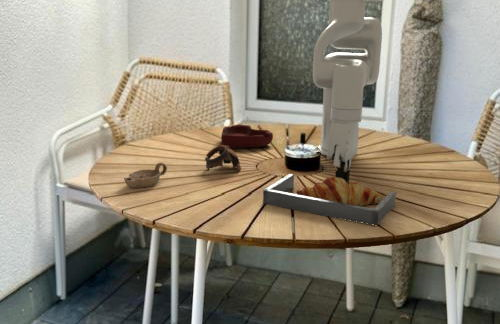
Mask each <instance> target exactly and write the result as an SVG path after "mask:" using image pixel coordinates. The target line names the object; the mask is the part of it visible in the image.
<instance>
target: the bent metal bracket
mask: <svg viewBox="0 0 500 324" xmlns="http://www.w3.org/2000/svg"><path fill="white" fill-rule="evenodd" d="M294 179H295V174H293V173H289V174H287V175H285V176H284V177H282V178H281V179H279V180H277V181H276V182H273V183H272V184H271V185H269V186H267V187H266V188H264V189H263V190H262V191H263V192H262V193H263V194H262V195H263V197H262V204H263V205H268V206H274V207H279V208H283V209H289V210H293V211H297V212H298V211H299V212H303V213H308V212H309V214H312V213H314V214H313V215H317V214H319V215H318V216H322V215H325V216H324V217H327V216H330V217H329V218H332V217H336V218H335V219H337V218H342V219H346V220H345V221H347V220H351V221H350V222H352V221H355V222H354V223H357V222H363V223H368V224H374V225H377V224H378V223H379V222H380V221H381V219H382V218H383V217H384V216H385V215H386V214H387V213H388V212H389V211H390V210H391V211H392V209H393V208H394V207H396V200H397V199H396V198H397V192H396V191H390V192H389V193H388V194H387V195H386V196H385V197H383V198H382V200H381V201H380V202H378V203H377V205H376V206H375V208H370V207H366V206H365V207H364V206H355V205H350V204H345V203H339V202H334V201H329V200H323V199H318V198H313V197H308V196H302V195H297V193H291V192H289V191H290V190H291V189H293V188H294V183H295V182H294V181H295V180H294ZM391 211H390V212H391ZM390 212H389V213H390ZM389 213H388V214H389ZM388 214H387V215H388ZM387 215H386V216H387ZM386 216H385V217H386ZM385 217H384V218H385ZM384 218H383V219H384ZM342 219H341V220H342ZM356 221H357V222H356ZM381 222H382V221H381ZM381 222H380V223H381ZM380 223H379V224H380ZM379 224H378V225H379ZM378 225H377V226H378Z"/></svg>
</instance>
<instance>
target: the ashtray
mask: <svg viewBox="0 0 500 324" xmlns="http://www.w3.org/2000/svg"><path fill="white" fill-rule="evenodd" d="M220 136H221V139H220V141H221V145H227V146H229V147H230V149H231V150H234V149H246V148H248V149H249V148H268V146H269V144H271V143H272V142H273V139H274V133H273V132H271V131H270V130H268V129H254V128H252V127H251V125H248V124H241V123H239V124H234V125H231V126H230V125H229V126H224V127H223V129H222V132H221V135H220Z"/></svg>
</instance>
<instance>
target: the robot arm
mask: <svg viewBox="0 0 500 324" xmlns="http://www.w3.org/2000/svg"><path fill="white" fill-rule="evenodd" d="M382 1H384V0H329V16H328V17H329V18H328V25H327V27H326V28H325V29H324V30H323V31H322V33H321V34H320V35H319V36H318V38H317V40H316V42H315V44H314V49H313V60H312V61H313V62H312V81H313V84H315V86H316V87H317V88H320V89H323V97H322V120H321V122H322V123H321V137H320V139H321V141H320V142H321V143H320V144H318V145H317V146H316V147H318V148H319V149H320V151H321V154H320V155H324V156H326V158H327V160H328V161H332V160H333V167H334V168H335V175H334V177H338V178H343V179H344V180H345V182H347V183H348V184H350V183H349V182H350V173H351V172H350V171H351V170H350V169H351V164H352V159H353V157H355V156H356V155H357V152H358V148H359V126H360V125H359V124H360V123H361V122H362V115H363V112H362V111H363V101H364V100H363V99H364V87H366V85H367V86H368V85H373V84H375V83H376V82H377V81H378V79H379V75H380V65H381V64H380V63H381V53H382V43H383V42H382V40H383V27H382V24H381V22H380V20H379V19H377V17H376V18H375V17H365V14H366V13H365V10H366V5H365V4H366V2H382ZM329 46H330V47H332V48H335V49H340V50H363V51H365V52H363V53H362V52H361V53H359V52H353V53H352V52H332V53H329V54H327V55H325V51H326V50H327V48H328V47H329Z"/></svg>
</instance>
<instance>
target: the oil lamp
mask: <svg viewBox="0 0 500 324" xmlns="http://www.w3.org/2000/svg"><path fill="white" fill-rule="evenodd" d="M161 166H162V171H160V167H161ZM167 171H168V167H167V165H166V163H164V162H158V163H157V164H155V167H154V169H139V170H136V171H134V172H133V173H129V174H128V177H124V178H123V180H124V182H125V184H126V185H127V186H128V187H129V188H134V189H139V188H140V189H142V188H149V187H152V186H155V185H156V184H158V182H159V180H160V177H161V176H164V175H165V174H166V173H167Z"/></svg>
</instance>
